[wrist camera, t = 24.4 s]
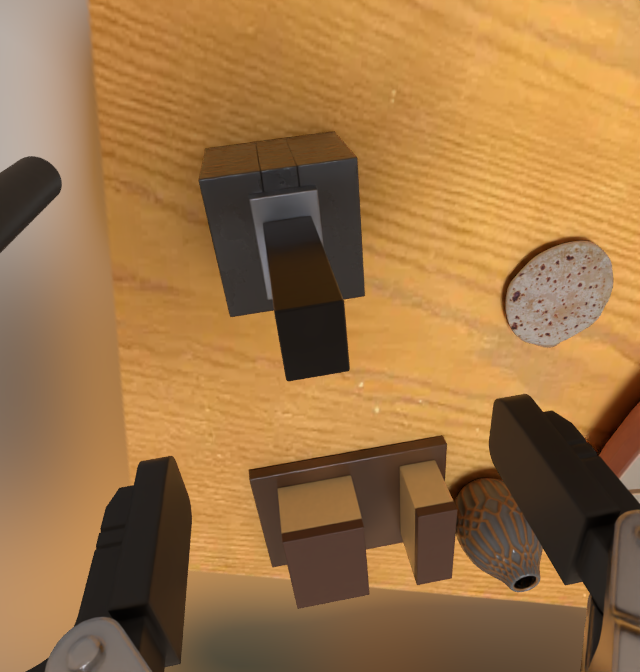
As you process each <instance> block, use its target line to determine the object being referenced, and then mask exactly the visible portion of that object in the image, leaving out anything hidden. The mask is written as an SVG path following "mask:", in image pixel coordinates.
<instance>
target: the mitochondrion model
mask: <svg viewBox="0 0 640 672" xmlns="http://www.w3.org/2000/svg"><path fill="white" fill-rule="evenodd" d="M599 456H600V457H601V458H602V459H603V460H604V462H605V463H606V464H607V465H608V466H609V468H610V469H611V470H612V471H613V472H614V473H615V475H616V476H617V477H618V478H619V479H620V481H621V482H622V483H623V484H624V485H625V486H626V488H627V489H628V490H629V491H630V492H631V494H632V495H633V496H634V497H635V498H636V499H637V501H638V502H639V503H640V402H639V403H638V404H637V405H636V406H635V407H634V408H633V409H632V411H631V412H630V413H629V414H628V416H627V417H626V418H625V420H624V421H623V422H622V424H621V425H620V426H619V427H618V429H617V430H616V431H615V433H614V434H613V435H612V437H611V438H610V439H609V441H608V442H607V443H606V445H605V446H604V448H603V449H602V451H601V453H600V454H599Z"/></svg>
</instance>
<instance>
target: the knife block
mask: <svg viewBox="0 0 640 672" xmlns="http://www.w3.org/2000/svg"><path fill="white" fill-rule="evenodd" d="M199 185H200V189H201V193H202V198H203V202H204V206H205V211H206V215H207V219H208V224H209V228H210V232H211V237H212V241H213V245H214V250H215V254H216V258H217V263H218V267H219V271H220V276H221V280H222V284H223V288H224V293H225V297H226V301H227V306H228V310H229V314H230V317H235V316H241V315H247V314H254V313H260V312H266V311H273V310H274V306H273V299H270V300H268V299H267V296H266V290H265V285H264V279H263V274H262V268H261V263H260V257H259V252H258V246H257V241H256V235H255V230H254V224H253V219H252V213H251V208H250V202H249V194H253V193H260V192H267V191H274V190H281V189H288V188H295V187H302V186H309V185H315V186H316V188H317V190H318V198H319V208H320V217H321V227H322V237H323V246H324V250H325V253H326V256H327V258H328V261H329V264H330V266H331V269H332V271H333V274H334V277H335V279H336V282H337V284H338V287H339V290H340V292H341V295H342V297H343V299H349V298H356V297H362V296H365V288H364V270H363V252H362V233H361V215H360V197H359V179H358V161H357V157H356V156H355V155H354V153H353V152H352V151H351V150H350V149H349V148H348V147H347V145H346V144H345V143H344V142H343V141H342V140H341V138H340V137H339V136H338V135H337V134H336V133H335V131H333V132H326V133H318V134H311V135H304V136H296V137H289V138H281V139H274V140H266V141H259V142H252V143H244V144H237V145H229V146H222V147H214V148H207V149H205V154H204V158H203V163H202V167H201V171H200V176H199Z"/></svg>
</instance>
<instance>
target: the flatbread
mask: <svg viewBox="0 0 640 672" xmlns="http://www.w3.org/2000/svg"><path fill="white" fill-rule="evenodd" d="M612 288H613V272H612V264H611V261H610V258H609V257H608V256H607V254H606V253H605V252H604V251H603V250H602V249H601V248H600V247H599V246H598V245H596V244H594V243H592V242H590V241H573V242H568V243H563V244H560V245H557V246H554V247H552V248H550V249H548V250H546V251H544V252H542V253H540V254H538V255H536V256H535V257H534V258H532V259H531V260H530V261H529V262H528V263H527V264H526V265H525V266H524V267H523V268H522V270H521V271H520V272H519V273H518V274H517V275H516V276H515V277H514V278H513V280H512V281H511V283H510V284H509V287H508V289H507V294H506V301H505V307H506V315H507V319H508V322H509V325H510V327H511V329H512V331H513V332H514V333H515V334H516V335H517V336H518V337H519V338H520V339H521V340H523V341H525V342H527V343H532V344H535V345H538V346H541V347H554V346H556V345H557V344H559V343H560V342H562V341H563V340H567V339H568V338H570V337H572V336H574V335H575V334H577V333H579V332H581V331H582V330H584V329H586V328H588V327H589V326H591V325H592V324H593V323H594V322H595V321H596V320H597V319H598V318H599V316H600V315H601V313H602V311H603V309H604V307H605V305H606V303H607V302H608V300H609V298H610V295H611V292H612Z"/></svg>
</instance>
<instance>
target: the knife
mask: <svg viewBox="0 0 640 672" xmlns="http://www.w3.org/2000/svg"><path fill="white" fill-rule="evenodd" d="M249 202H250V208H251V213H252V219H253V224H254V230H255V235H256V241H257V246H258V252H259V257H260V263H261V268H262V274H263V279H264V285H265V290H266V296H267V299H268V300H270V299H273V306H274V313H275V319H276V325H277V330H278V336H279V342H280V347H281V353H282V359H283V364H284V370H285V376H286V380H287V381H293V380H299V379H305V378H311V377H317V376H323V375H329V374H335V373H341V372H346V371H349V369H350V366H349V354H348V342H347V330H346V318H345V307H344V300H343V297H342V295H341V292H340V290H339V287H338V284H337V282H336V279H335V277H334V274H333V271H332V269H331V266H330V264H329V261H328V258H327V256H326V253H325V250H324V246H323V237H322V227H321V217H320V208H319V198H318V190H317V188H316V186H315V185H309V186H302V187H295V188H288V189H281V190H274V191H267V192H260V193H253V194H249Z"/></svg>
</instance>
